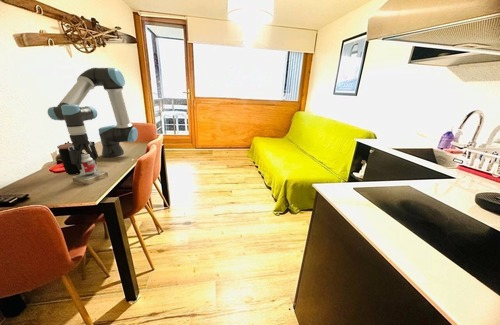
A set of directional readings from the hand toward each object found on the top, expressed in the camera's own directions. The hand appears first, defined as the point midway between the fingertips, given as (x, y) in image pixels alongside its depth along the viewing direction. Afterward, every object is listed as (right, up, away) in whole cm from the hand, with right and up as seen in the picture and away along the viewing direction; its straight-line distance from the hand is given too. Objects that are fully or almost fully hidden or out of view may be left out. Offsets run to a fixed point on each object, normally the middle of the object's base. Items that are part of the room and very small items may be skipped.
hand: (89, 172), depth 118 cm
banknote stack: (0, -4, +2) cm, 5 cm away
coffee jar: (-18, -1, +12) cm, 21 cm away
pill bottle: (0, -1, 0) cm, 1 cm away
